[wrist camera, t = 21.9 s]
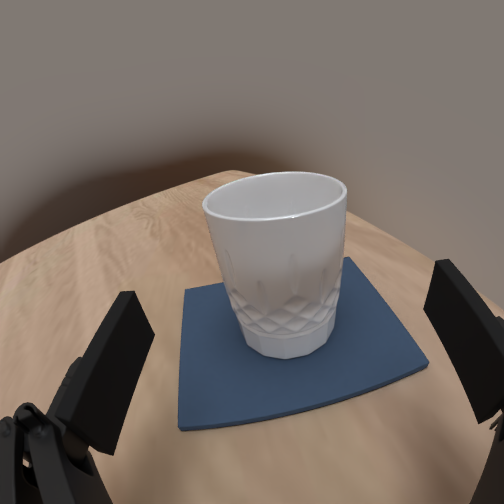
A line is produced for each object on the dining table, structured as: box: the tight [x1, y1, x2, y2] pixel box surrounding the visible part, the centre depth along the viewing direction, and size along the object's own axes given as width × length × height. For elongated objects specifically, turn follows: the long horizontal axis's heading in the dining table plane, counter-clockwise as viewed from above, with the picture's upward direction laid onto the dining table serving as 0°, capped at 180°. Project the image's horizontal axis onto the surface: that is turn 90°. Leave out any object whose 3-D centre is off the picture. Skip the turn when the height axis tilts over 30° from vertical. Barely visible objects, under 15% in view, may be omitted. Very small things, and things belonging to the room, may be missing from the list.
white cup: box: [202, 172, 347, 359], centre depth 18 cm, size 8×8×10 cm
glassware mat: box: [178, 257, 429, 431], centre depth 20 cm, size 16×14×1 cm
